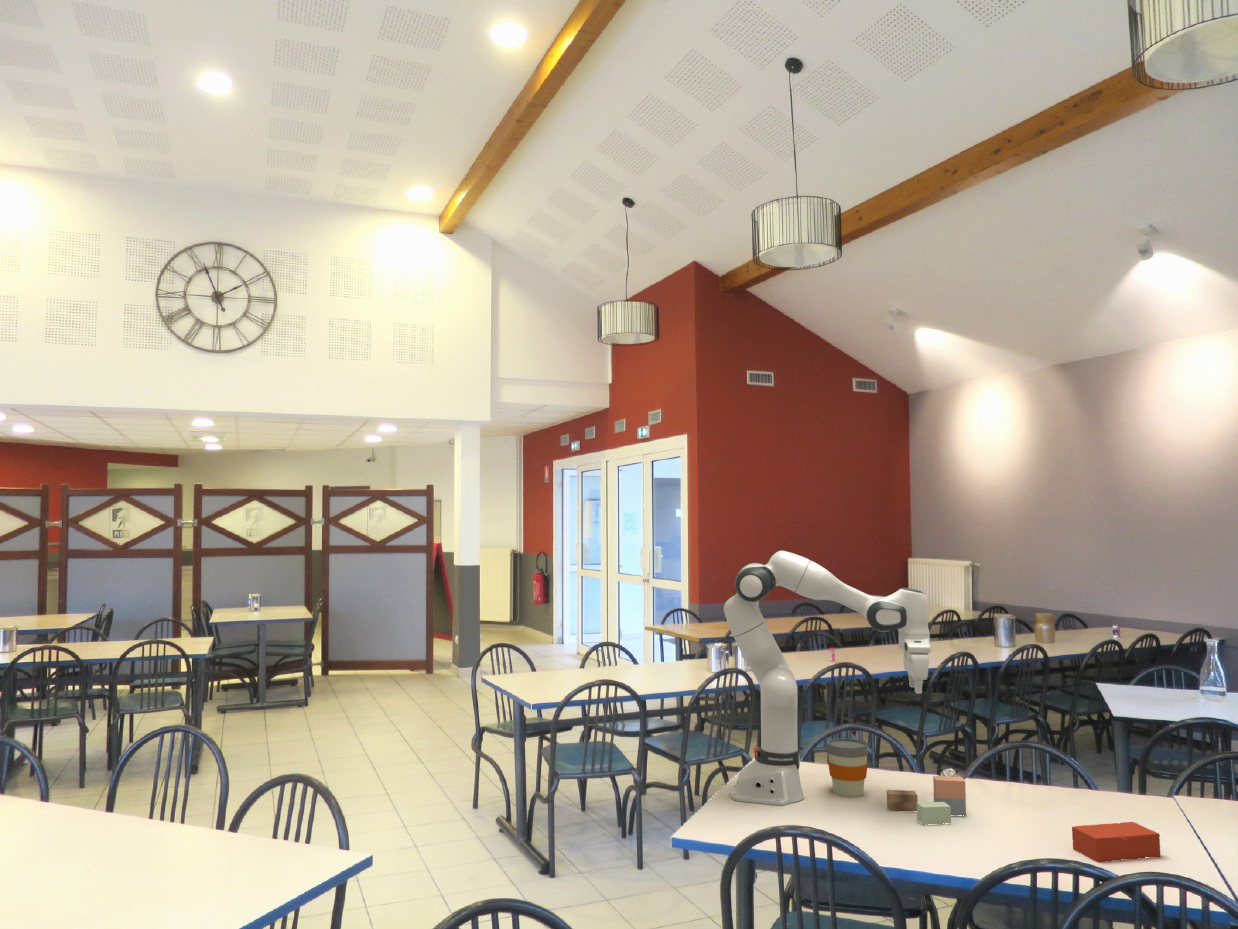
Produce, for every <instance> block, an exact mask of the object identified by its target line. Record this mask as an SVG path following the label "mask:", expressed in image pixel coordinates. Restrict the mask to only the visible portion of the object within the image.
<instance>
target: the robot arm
mask: <svg viewBox="0 0 1238 929" xmlns="http://www.w3.org/2000/svg"><path fill="white" fill-rule="evenodd" d="M734 587H735V591H736V593H735V594H734V595H733V596H731V597H730V598H729V599H727V600H726V602H725V603H724V606H723V613H724V616H725V619H726V620H725V621H726V622H727V625H728V628H729V631H730V632H731V634H732V636H733V638H734V640H735V643H736V644H737V646H738V648H739V650H740V652H741V653H742V656H743V658H744V660H745V661H746V663H747V664H748V667H749V668H750V670H751V672H752V674H753V675H754V677H755V679H756V682H757V683H758V685H759V688H760V741H761V742H760V743H761V745H760V746H761V747H760V746H758V745H755V746H754V747H753V753H754V761H752V762H750V763H749V764H748V765H746V766H745V767H744V768H743V769H741V770H740V772H739V774H738V776H737V780H736V784H734V785H732V786H731V787H730V789H729V796H730V798H731V799H732V800H733V801H738V802H748V803H757V804H765V805H773V806H785V805H788V804H791V803H796V802H799V801H801V800H804V797H805V795H804V792H803V787H802V784H801V776H800V766H801V765H800V764H801V760H800V759H801V758H800V749H799V748H798V747H799V746H798V684H797V680H796V678H795V675H794V673H793V671H792V669H791V667H790V665H789V664H788V662H787V660H786V658H785V656H784V654H783V653H782V650H781V649H780V647H779V645H778V643H777V642H776V640H775V638H774V635H773V633H772V632H771V630H770V628H769V625H768V624H767V621H766V620H765V618H764V616H763V615H762V612H761V610H760V607H759V604H760V601H762V600H764V599H765V598H767V596H768V595H769V594H770V593H771V591H773V589H775V587H781V588H785V589H788V590H789V591H792V592H793V593H795V594H797V595H799V596H802V597H806V598H808V599H811V600H815V601H826V600H827V601H830V602H835V603H838V604H840V605H843V606H845V607H847V608H849V609H851V610H854V611H855V612H857V613H859V614H860V615H862V616H863V617H864V618H865V620H866V621H867V622H868V624H869V625H870V627H872V628H873V629H874V630H875V631H877V632H882V633H883V632H884V633H886V632H891V631H897V632H898V649H899V650H900V649H901V650H903V653H902V654H903V668H904V670H905V671H906V672H907V675H908V676H907V677H908V681H909V682H908V684H909V687H910V688H914V693H915V694H918V695H919V694H922V693H923V686H924V685H923V683H924V681H926V680H928V676H929V661H930V660H929V659H930V656H929V654H931V652H932V649H931V648H932V647H931V635H930V629H929V621H930V608H929V601H928V597H927V595H926V594H925V593H924V592H923V591H922V590H920V589H919V590H918V589H915V588H912V587H901V588H899V589H898V590H897V591H896V592H894V593H891V594H890V595H887V596H885V595H879V594H878V595H874V594H873V595H872V594H868V593H866V592H863V591H861V590H859V589H857V588H854V587H853V586H851V585H848V584H847V583H844V582H843V581H841V580H840V579H839V578H837V577H836V576H835V575H834V574H833V573H832V572H830V571H829V570H828V569H826V568H825V567H823V566H821V565H820V564H818V563H816V562H815V561H813V560H810V559H809V558H807V557H804V556H802V555H799V554H796V553H793V552H790V551H786V550H779V551H778V550H777V552H775V553H774V554H773V555H772V556H771V557H770V558H769V560H768V562H767V563H766V564H764V563H762V562H758V561H757V562H755V561H754V562H751V563H748V564H747V565H745V566H744V567H742V568H741V569H740V570H739V571H738V574H737V575H736V577H735V581H734Z"/></svg>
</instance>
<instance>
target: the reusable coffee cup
mask: <svg viewBox="0 0 1238 929" xmlns="http://www.w3.org/2000/svg"><path fill="white" fill-rule="evenodd" d="M868 749H869V748H868V743H867V742H865V741H862V740H860V739H854V738H833V739H829V740H828V741H827V745H826V753H827V755H828V760H827V762H828V763H827V765H828V771H829V776H830V778H831V782H832V783H831V784H832V789H833V793H834V794H835V795H837V796H841V797H848V798H857V797H861V796H863V795H864V791H865V790H864V789H865V780H866V778H867V775H868V761H867V759H868V755H869V750H868Z"/></svg>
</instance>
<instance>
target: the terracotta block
mask: <svg viewBox="0 0 1238 929" xmlns="http://www.w3.org/2000/svg"><path fill="white" fill-rule="evenodd" d="M962 777H963V776H962ZM962 777H945V776H938V775H933V776H932V780H933V781H932V782H933V796H934V795H935V796H936V798H950V799H966V800H967V798H966V795H967V794H966V792H967V791H966V779H963V778H964V777H963V778H962Z"/></svg>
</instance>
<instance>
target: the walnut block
mask: <svg viewBox="0 0 1238 929" xmlns="http://www.w3.org/2000/svg"><path fill="white" fill-rule="evenodd" d="M917 803H919V802H918V794H917V792H916V791H915V790H904V789H903V790H902V789H901V790H900V789H886V807H888V808H887V810H888V809H889V810H888V811H889V812H899V811H917Z"/></svg>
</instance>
